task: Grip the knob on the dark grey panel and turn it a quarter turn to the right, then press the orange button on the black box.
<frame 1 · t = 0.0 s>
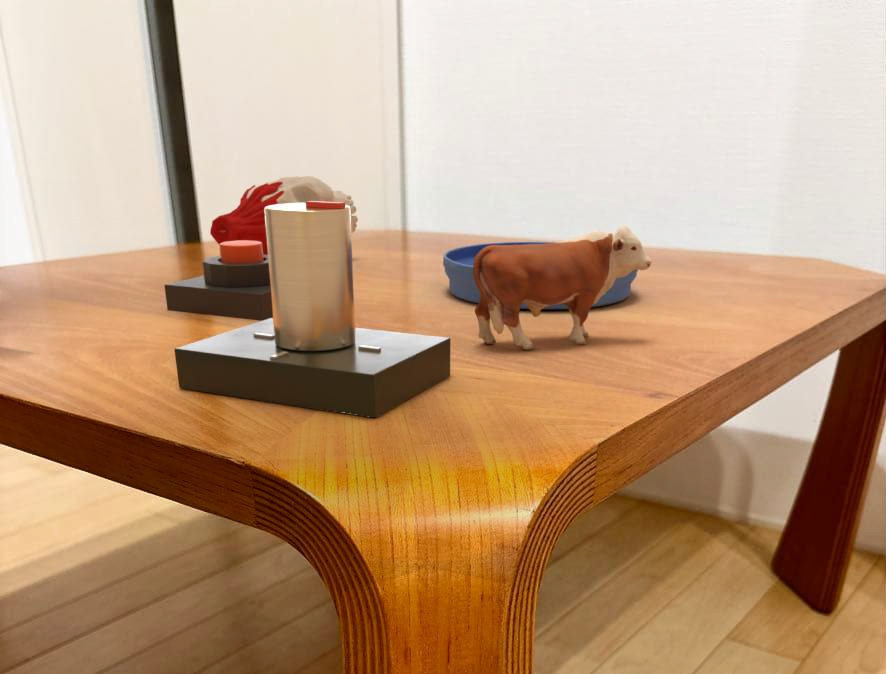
knob: (311, 273, 55), point 7 cm above the table, hinge at 0.0°
bowl: (538, 295, 86), on the table
dial panel: (317, 382, 58), on the table
button: (241, 253, 78), point 4 cm above the table, slide at 0.1 cm
bull figurine: (555, 344, 68), on the table
red cream irregular piece: (281, 261, 105), on the table
button box: (246, 306, 80), on the table
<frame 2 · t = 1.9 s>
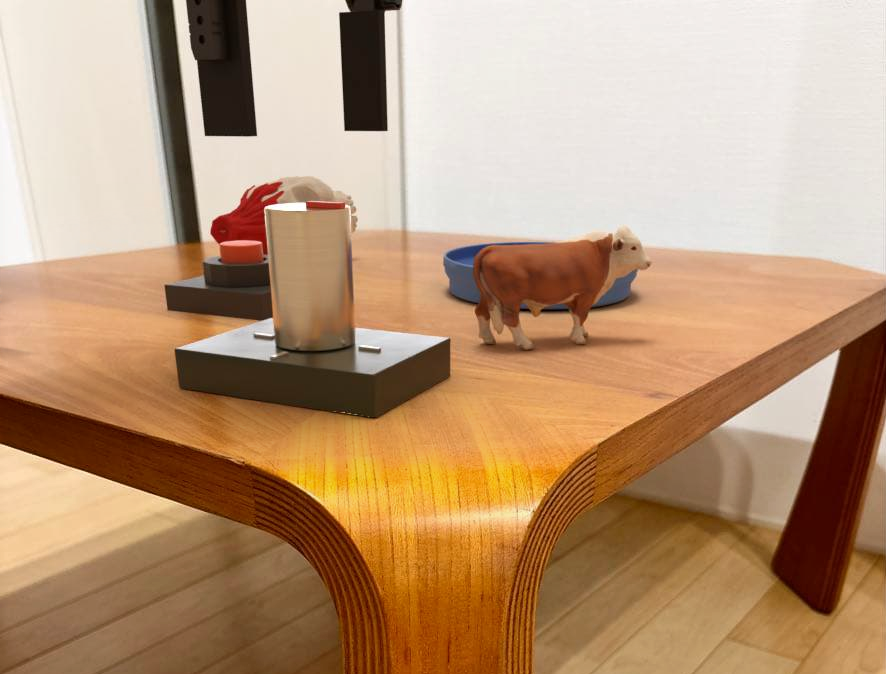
hand: (305, 134, 52), 14 cm above the table, tool pointing down, fingers open, 13 cm apart
nothing on the table moved.
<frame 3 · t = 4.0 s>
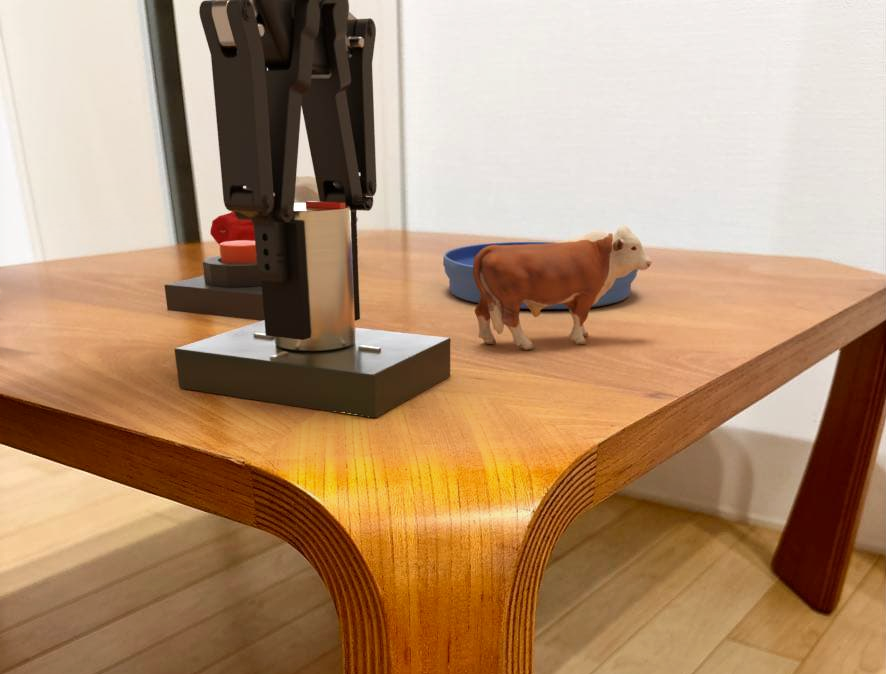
hand: (314, 326, 57), 4 cm above the table, tool pointing down, fingers closed on knob, 5 cm apart
knob: (311, 273, 55), point 7 cm above the table, hinge at -0.1°, touching gripper
everything else where it was.
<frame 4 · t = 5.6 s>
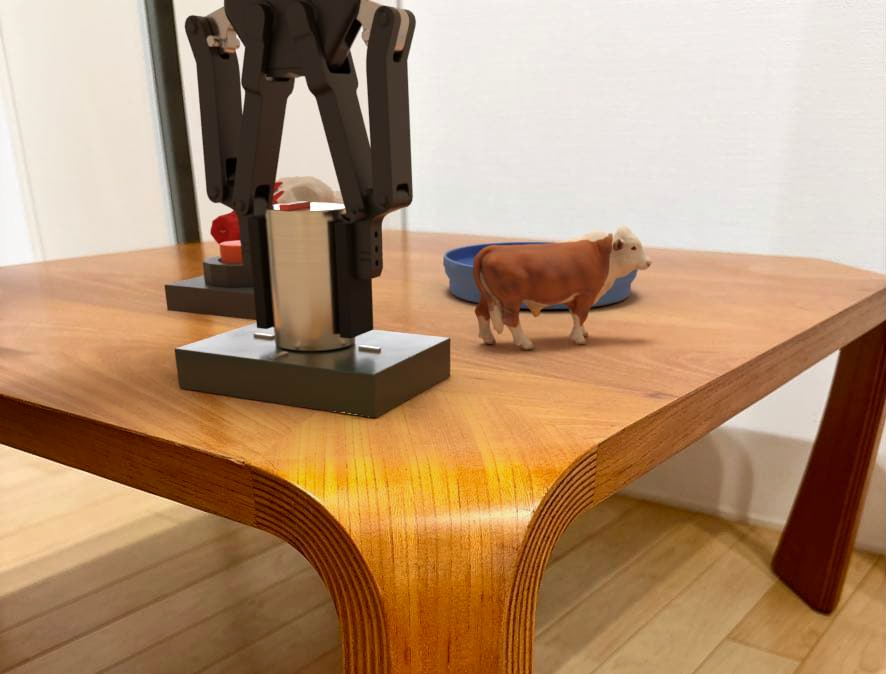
hand: (314, 328, 57), 3 cm above the table, tool pointing down, fingers open, 5 cm apart
knob: (311, 273, 55), point 7 cm above the table, hinge at -89.9°
everything else where it was.
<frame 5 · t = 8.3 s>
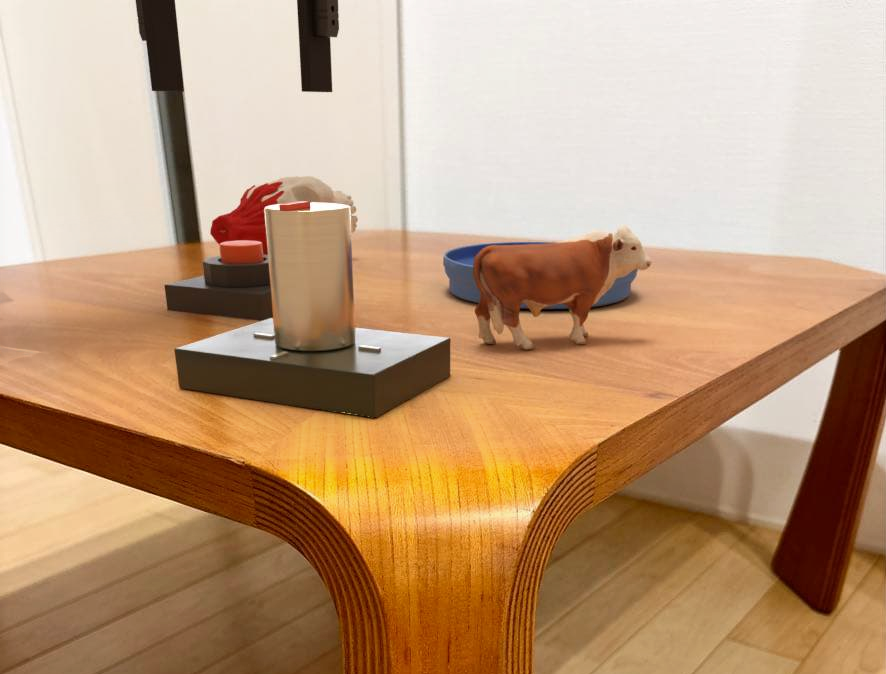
hand: (239, 92, 67), 17 cm above the table, tool pointing down, fingers open, 13 cm apart
nothing on the table moved.
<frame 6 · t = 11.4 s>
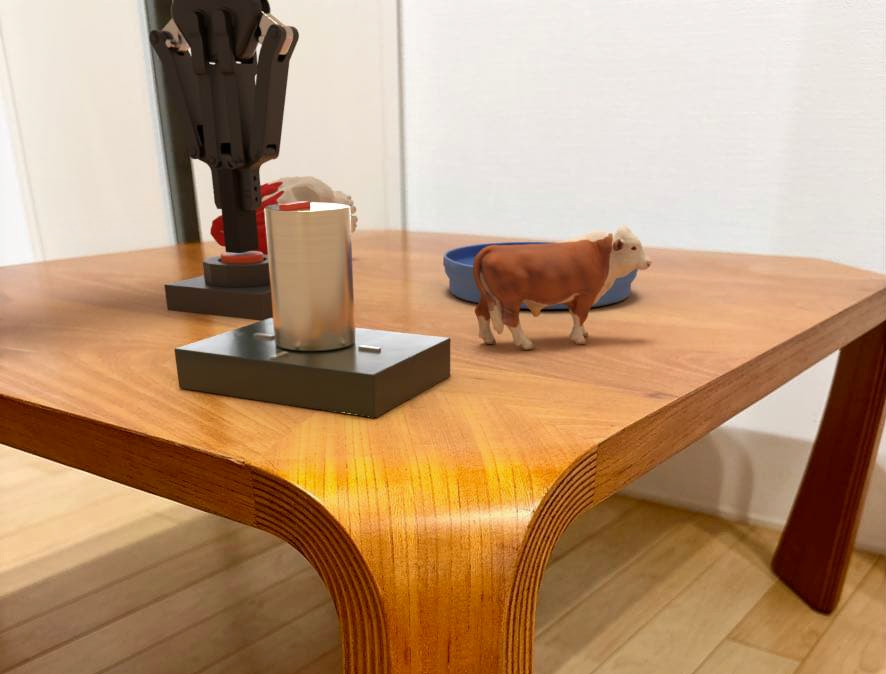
hand: (242, 250, 78), 5 cm above the table, tool pointing down, fingers closed
button: (242, 263, 79), point 4 cm above the table, slide at -0.8 cm, touching gripper
everything else where it was.
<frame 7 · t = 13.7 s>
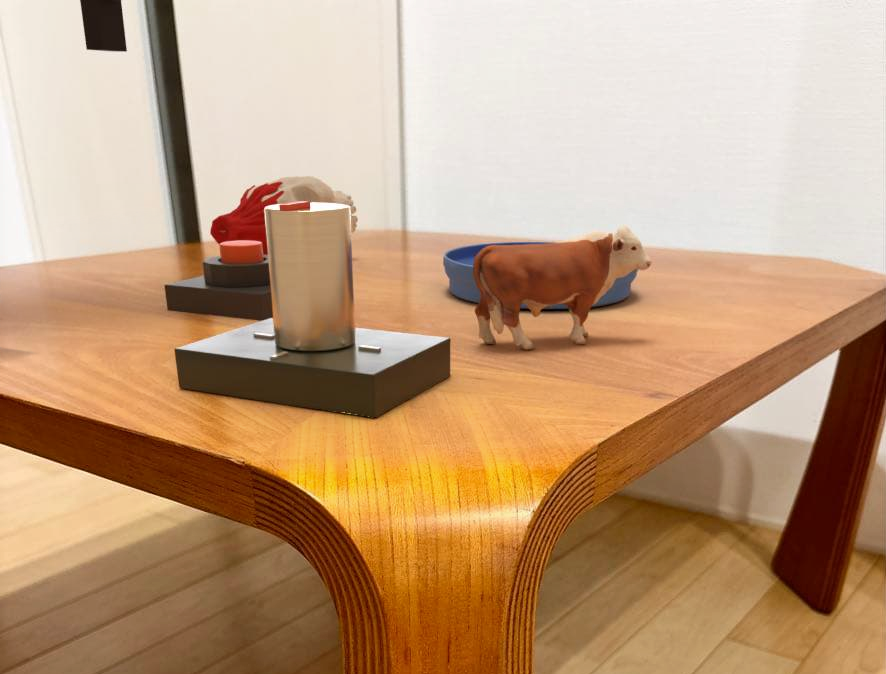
hand: (106, 50, 70), 20 cm above the table, tool pointing down, fingers closed
button: (241, 253, 78), point 4 cm above the table, slide at 0.1 cm
everything else where it was.
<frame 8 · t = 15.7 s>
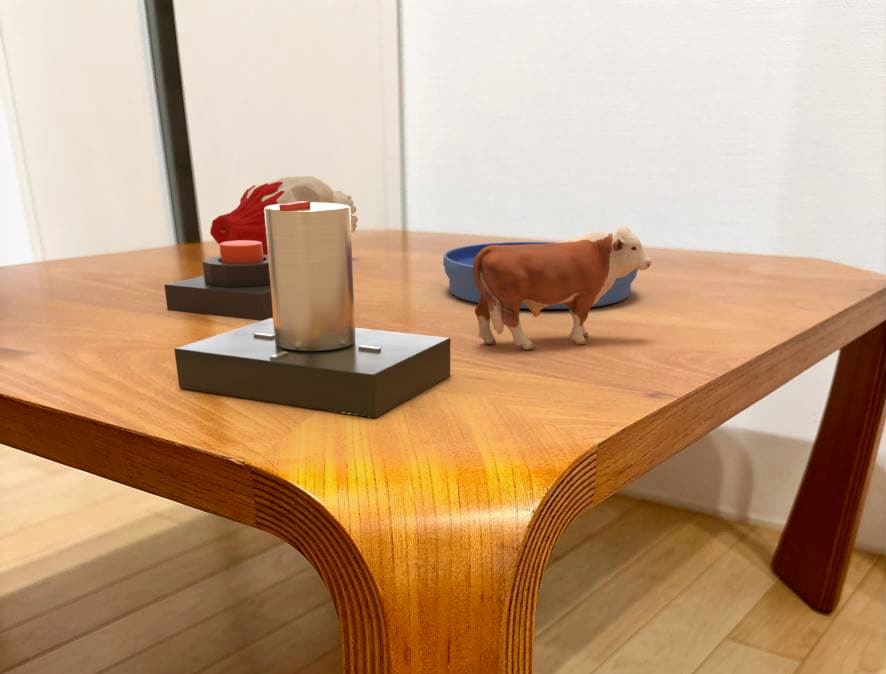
nothing on the table moved.
at the end: knob at -90° (first picture: +0°); button pushed in 1.0 cm at the most during the clip, back to where it started at the end; button slide at 0.1 cm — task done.
